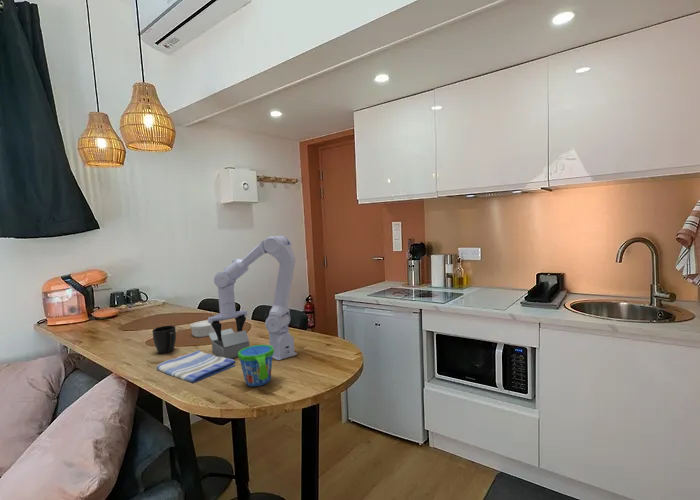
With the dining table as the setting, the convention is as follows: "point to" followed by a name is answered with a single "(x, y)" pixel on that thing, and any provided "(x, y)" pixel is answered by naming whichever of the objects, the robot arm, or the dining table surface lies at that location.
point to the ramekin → (201, 328)
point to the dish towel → (195, 366)
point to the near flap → (234, 338)
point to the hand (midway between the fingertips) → (229, 337)
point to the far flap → (223, 332)
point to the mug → (164, 339)
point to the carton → (227, 349)
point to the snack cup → (256, 364)
